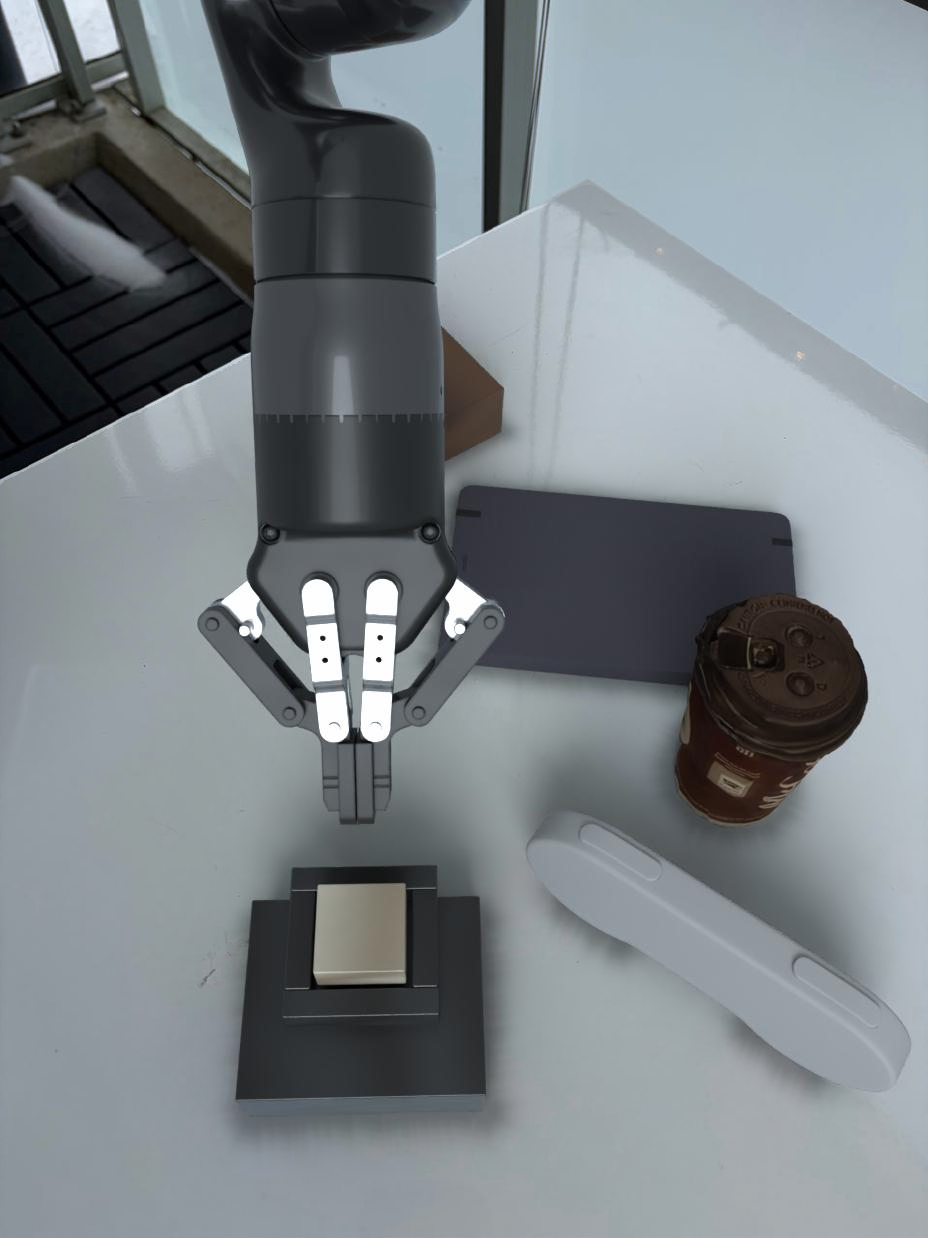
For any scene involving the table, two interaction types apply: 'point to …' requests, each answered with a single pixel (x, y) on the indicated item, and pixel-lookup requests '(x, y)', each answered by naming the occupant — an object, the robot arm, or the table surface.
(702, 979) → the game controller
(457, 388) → the key block
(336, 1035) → the key block
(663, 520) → the notebook
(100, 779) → the table surface
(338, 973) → the ivory key
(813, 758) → the coffee cup
